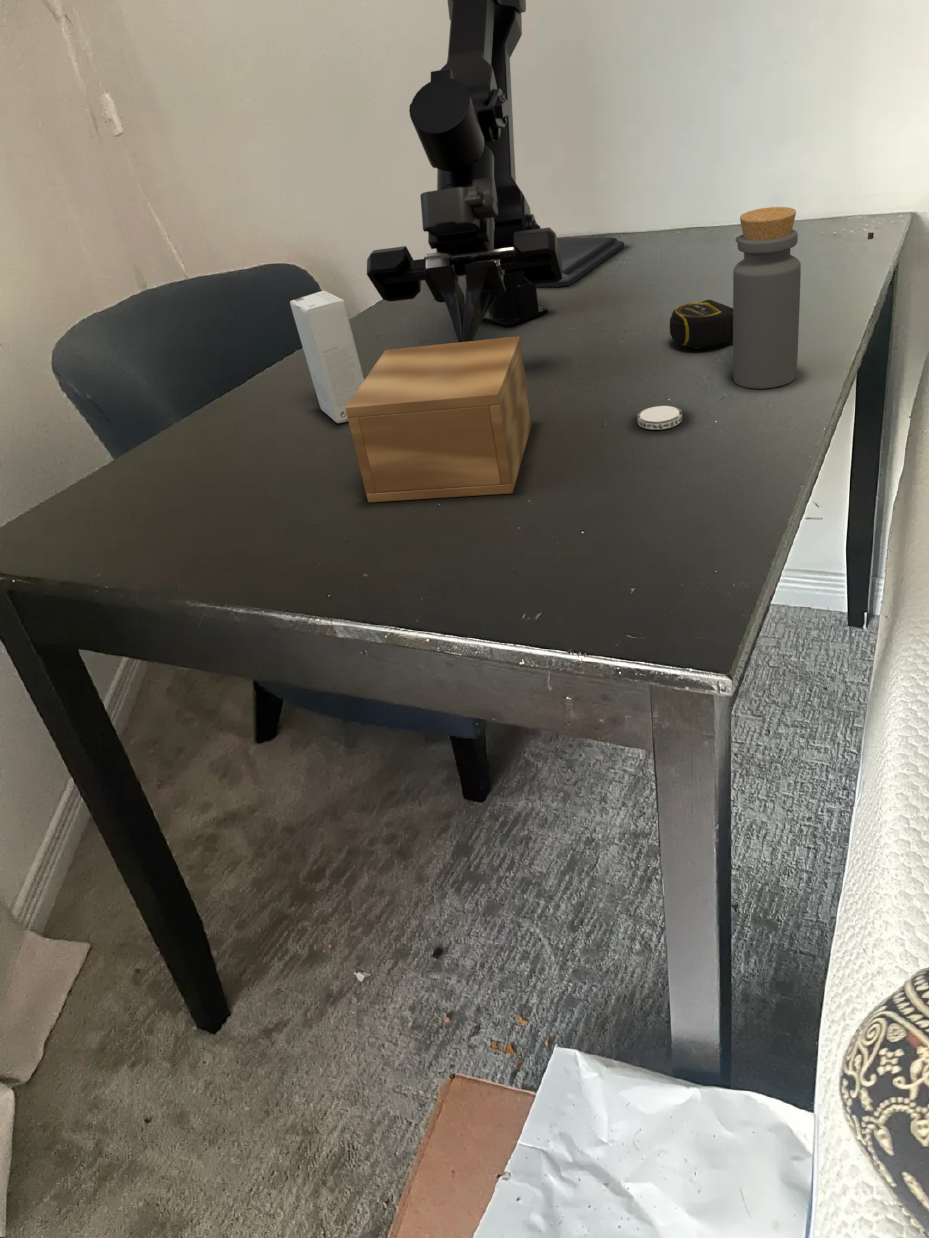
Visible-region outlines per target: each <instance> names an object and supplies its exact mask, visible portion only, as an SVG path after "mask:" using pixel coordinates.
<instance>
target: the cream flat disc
mask: <svg viewBox="0 0 929 1238" xmlns="http://www.w3.org/2000/svg"><path fill="white" fill-rule="evenodd" d="M636 415H637V416H636V417H637V418H636V419H637V425H638V426H639V427H640V428H643V429H646V430H666V429H671V428H674V427H675V426H677V425H679V424H680V423H681V422H682V421H683V411H682V409H680V408H679V407H677V406H672V405H655V406H651V407H647V408H645V409H642V410H640V411H639V413H637V414H636Z"/></svg>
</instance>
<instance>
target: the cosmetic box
mask: <svg viewBox="0 0 929 1238" xmlns="http://www.w3.org/2000/svg"><path fill="white" fill-rule="evenodd" d="M289 304H290V307H291V312H292V315H293V319H294V322H295V326H296V329H297V333H298V335H299V339H300V343H301V345H302V350H303V353H304V356H305V360H306V364H307V367H308V370H309V374H310V377H311V380H312V384H313V387H314V390H315V393H316V394H315V395H316V397H317V401H318V404H319V405H318V406H319V408H320V411H322V412H323V413H325V415H327V416H328V417H329V418H331V419H332V420H333V421H334V422H335V423H336V424H343V423H347V422H348V417H347V413H346V409H345V407H346V406H347V404H348V403H349V402H350V400H351V399H352V397H353V396H354V394H355V393H356V392H357V390H358V389H359V387H360V386H361V384H362V383H363V382H364V380H365V378H364V374H363V370H362V366H361V362H360V358H359V354H358V350H357V346H356V341H355V339H354V336H353V335H354V334H353V330H352V327H351V323H350V319H349V316H348V312H347V307H346V302H345V300H344V299H342V298H340V297H338V296H336V295H334V294H332V293H330V292H329V291H327V290H321V291H318V292H314V293H311V294H308V295H305V296H301V297H298V298H295V299H292V300H290V301H289ZM348 423H349V422H348Z"/></svg>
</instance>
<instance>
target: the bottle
mask: <svg viewBox="0 0 929 1238" xmlns="http://www.w3.org/2000/svg"><path fill="white" fill-rule="evenodd" d="M796 214H797V210H796V209H795V208H793V207H789V206H788V207H786V206H771V207H763V208H762V207H761V208H757V209H753V210H748V211H746V212H744V213H742V214H741V215H740V217H739V222H740V226H741V230H742V231H741V232H742V234H741V235H739V236H738V237H737V244H736V245H737V250H738V251H739V252H742V253H743V259H742V260H740V261H739V262H737V263H736V265H735V266H734V268H733V273H732V291H733V292H732V308H733V339H732V374H733V375H732V376H733V377H732V378H733V381H734V383H735V384H736V385H738V386H740V387H743V388H747V389H748V388H749V389H755V390H757V389H758V390H760V389H772V388H773V389H774V388H778V387H782V386H785V385H788V384H790V383H792V382H793V381H795V379H796V378H797V374H798V373H797V370H798V355H799V354H798V353H799V331H800V330H799V329H800V328H799V327H800V307H801V306H800V303H801V278H802V277H801V274H802V273H801V272H802V264H801V262H800V260H799V259H798V258H797V257H795V256H794V255H792V254H791V249H792V248H794V247H795V246H796V245H798V241H799V239H798V238H799V237H798V236H799V234H798V231H797V230H796V229H794V224H795V219H796Z"/></svg>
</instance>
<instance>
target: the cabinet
mask: <svg viewBox="0 0 929 1238" xmlns="http://www.w3.org/2000/svg"><path fill="white" fill-rule="evenodd" d="M522 349H523V348H522V342H521V336H520V335H518V336H509V337H498V338H489V339H480V340H473V341H469V342H450V343H442V344H430V345H421V346H412V347H411V346H410V347H402V348H393V349H385V350H384V351H383V353H382V354H381V355H380V357H379V358H378V360H377V361H376V363H375V364H374V365H373V367H372V369H371V370H370V372H368V375H366V377H365V378H364V382H363V383H362V384H361V386H360V387H359V389H358V390H357V392H356V393H355V394H354V396H353V397H352V399H351V400H350V402H349V403H348V404H347V406H346V407H345V409H346V413H347V417H348V425H349V430H350V434H351V437H352V442H353V447H354V450H355V455H356V458H357V459H356V460H357V463H358V466H359V470H360V474H361V475H360V476H361V479H362V483H363V487H364V493H365V495H366V499H367V503H369V504H370V503H383V502H384V503H385V502H399V501H400V502H401V501H402V502H403V501H415V500H429V499H430V500H431V499H433V500H434V499H446V498H462V497H478V496H492V495H493V496H495V495H510V494H513V493H514V489H515V486H516V482H517V479H518V475H519V471H520V468H521V464H522V461H523V457H524V453H525V451H526V446H527V443H528V439H529V436H530V433H531V429H532V420H531V411H530V404H529V397H528V389H527V388H528V387H527V382H526V380H527V379H526V373H525V365H524V358H523V350H522Z"/></svg>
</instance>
